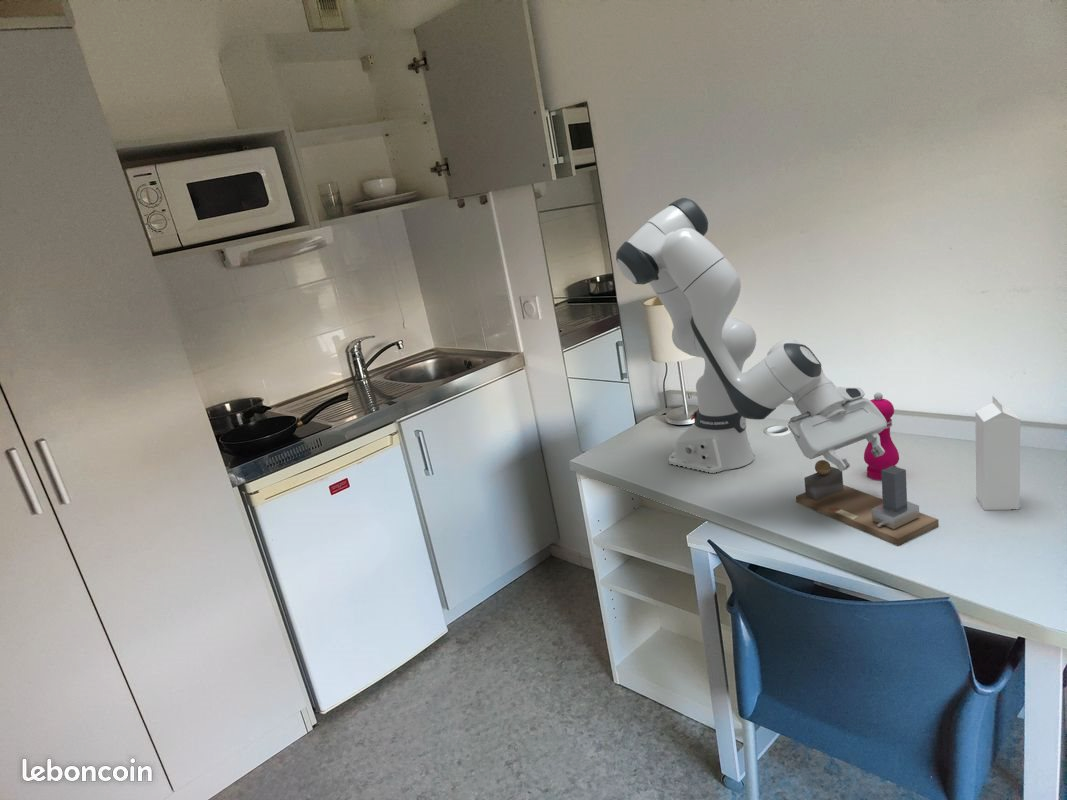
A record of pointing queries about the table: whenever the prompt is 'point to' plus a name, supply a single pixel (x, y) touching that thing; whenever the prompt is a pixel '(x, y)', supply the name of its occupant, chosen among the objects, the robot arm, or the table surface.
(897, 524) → the handle
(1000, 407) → the milk
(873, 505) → the base
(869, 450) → the pepper mill
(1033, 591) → the table surface
